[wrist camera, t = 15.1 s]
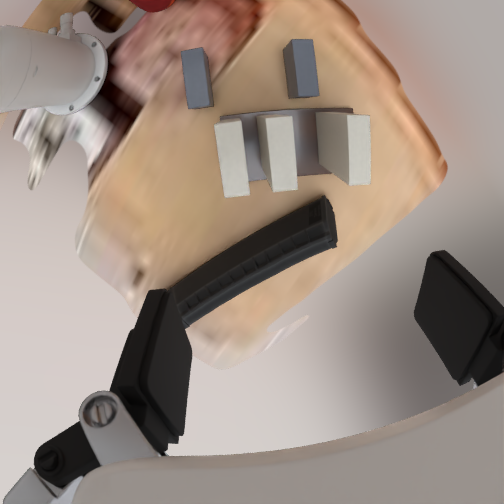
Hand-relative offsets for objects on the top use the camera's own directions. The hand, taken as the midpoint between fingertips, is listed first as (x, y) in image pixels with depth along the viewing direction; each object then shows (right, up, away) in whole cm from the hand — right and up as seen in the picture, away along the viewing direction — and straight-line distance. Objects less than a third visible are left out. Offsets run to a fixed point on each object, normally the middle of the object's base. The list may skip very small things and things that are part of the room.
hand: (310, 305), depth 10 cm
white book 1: (-4, +15, +25) cm, 29 cm away
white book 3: (+8, +17, +25) cm, 31 cm away
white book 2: (0, +16, +25) cm, 29 cm away
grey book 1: (-8, +23, +21) cm, 33 cm away
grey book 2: (+3, +25, +21) cm, 33 cm away
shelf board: (+3, +16, +26) cm, 31 cm away
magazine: (-4, +2, +34) cm, 34 cm away
